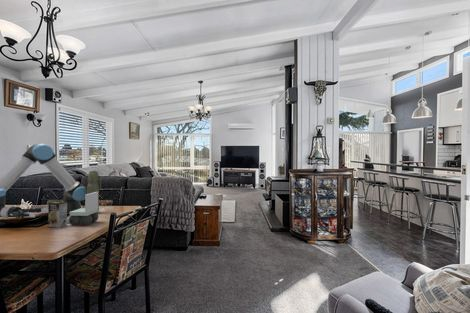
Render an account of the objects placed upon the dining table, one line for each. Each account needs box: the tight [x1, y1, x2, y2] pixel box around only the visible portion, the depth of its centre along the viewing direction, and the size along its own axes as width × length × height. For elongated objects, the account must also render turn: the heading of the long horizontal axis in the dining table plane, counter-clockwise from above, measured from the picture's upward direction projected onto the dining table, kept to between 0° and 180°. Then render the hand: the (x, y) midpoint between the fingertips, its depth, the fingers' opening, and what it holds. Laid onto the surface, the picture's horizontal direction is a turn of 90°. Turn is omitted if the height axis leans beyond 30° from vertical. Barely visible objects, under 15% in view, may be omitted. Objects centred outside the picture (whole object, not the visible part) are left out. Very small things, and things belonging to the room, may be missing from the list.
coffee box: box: [47, 200, 68, 229], centre depth 165 cm, size 9×6×16 cm
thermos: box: [84, 170, 102, 214], centre depth 203 cm, size 9×12×35 cm
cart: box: [68, 192, 99, 226], centre depth 172 cm, size 13×14×21 cm
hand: (43, 212), depth 165 cm, fingers open, 13 cm apart
